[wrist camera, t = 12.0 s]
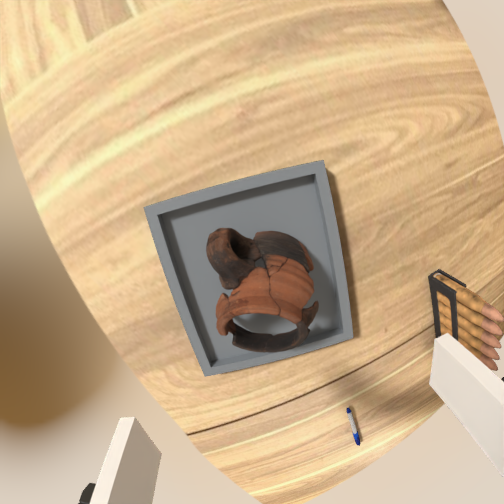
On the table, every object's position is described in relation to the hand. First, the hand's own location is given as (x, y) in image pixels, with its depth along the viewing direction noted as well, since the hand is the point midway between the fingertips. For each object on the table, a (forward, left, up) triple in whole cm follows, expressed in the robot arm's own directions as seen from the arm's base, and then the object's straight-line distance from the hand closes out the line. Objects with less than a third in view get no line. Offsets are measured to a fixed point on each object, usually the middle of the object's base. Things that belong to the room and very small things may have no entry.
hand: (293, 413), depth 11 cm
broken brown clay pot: (0, 0, -18) cm, 18 cm away
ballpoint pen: (-8, +27, -19) cm, 34 cm away
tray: (0, 0, -18) cm, 18 cm away
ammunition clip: (-21, +11, -19) cm, 30 cm away
